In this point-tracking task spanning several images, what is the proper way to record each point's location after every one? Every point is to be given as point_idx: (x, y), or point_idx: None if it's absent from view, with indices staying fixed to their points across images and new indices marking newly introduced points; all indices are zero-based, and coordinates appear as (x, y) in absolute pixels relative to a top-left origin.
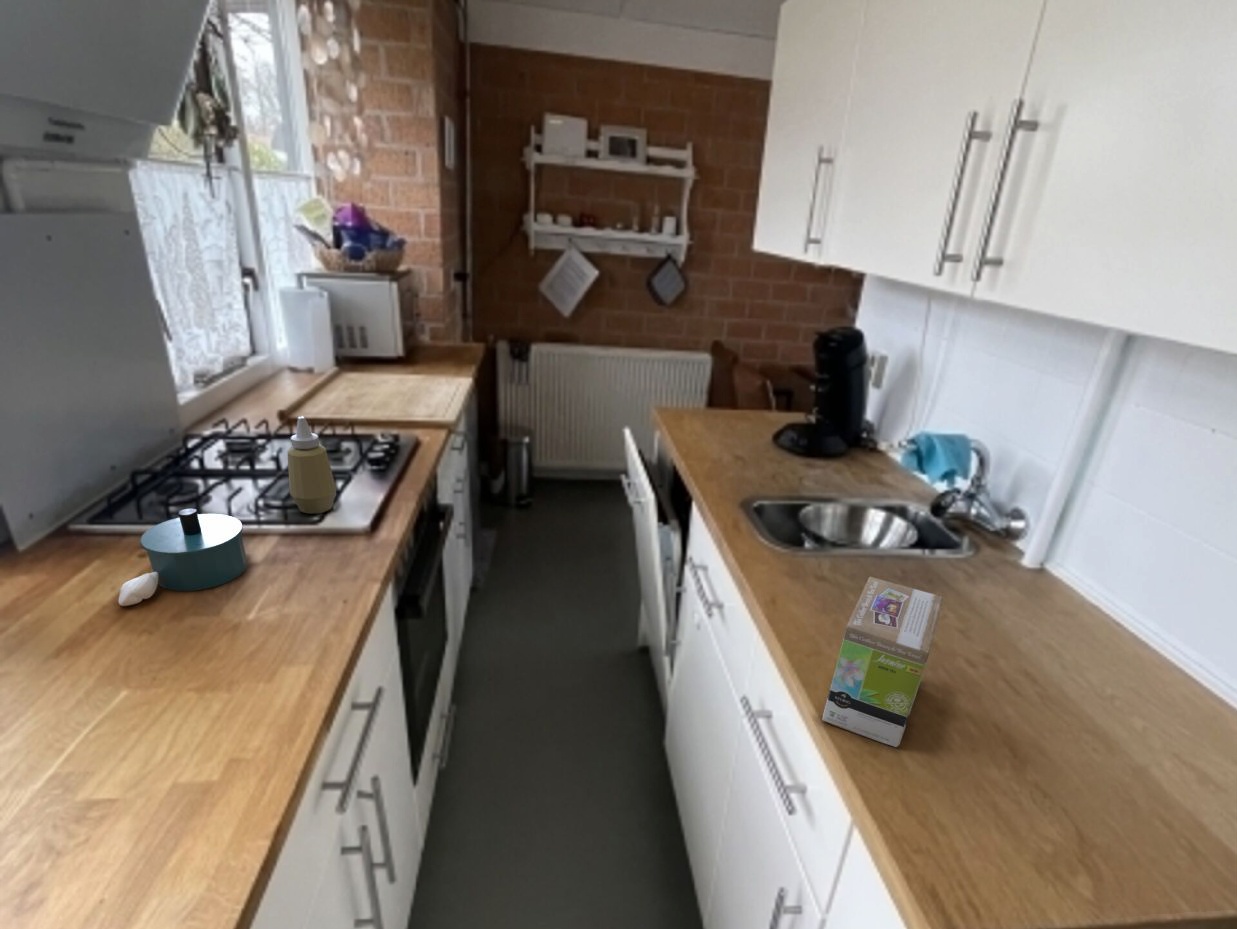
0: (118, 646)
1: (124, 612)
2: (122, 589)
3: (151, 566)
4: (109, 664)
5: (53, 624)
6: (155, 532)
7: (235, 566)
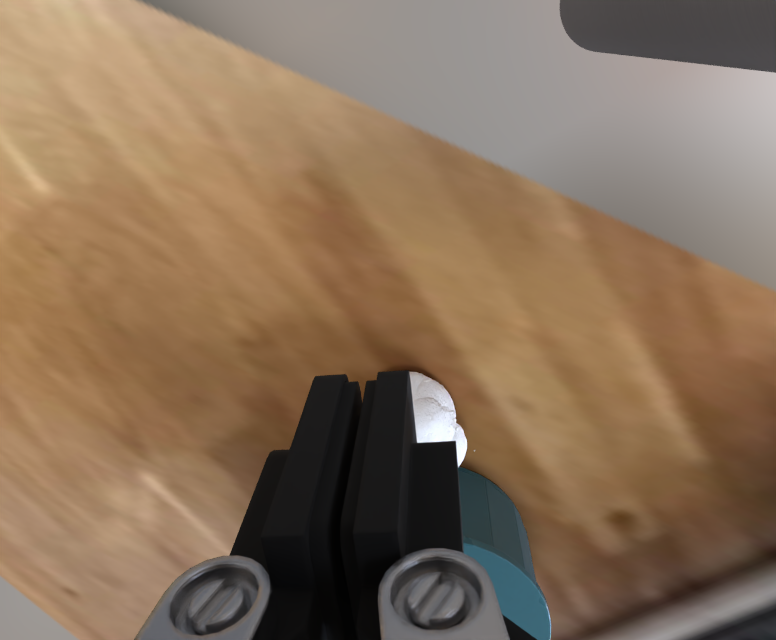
0: (245, 276)
1: (387, 360)
2: (416, 406)
3: (485, 498)
4: (182, 227)
5: (473, 246)
6: (507, 593)
7: None
